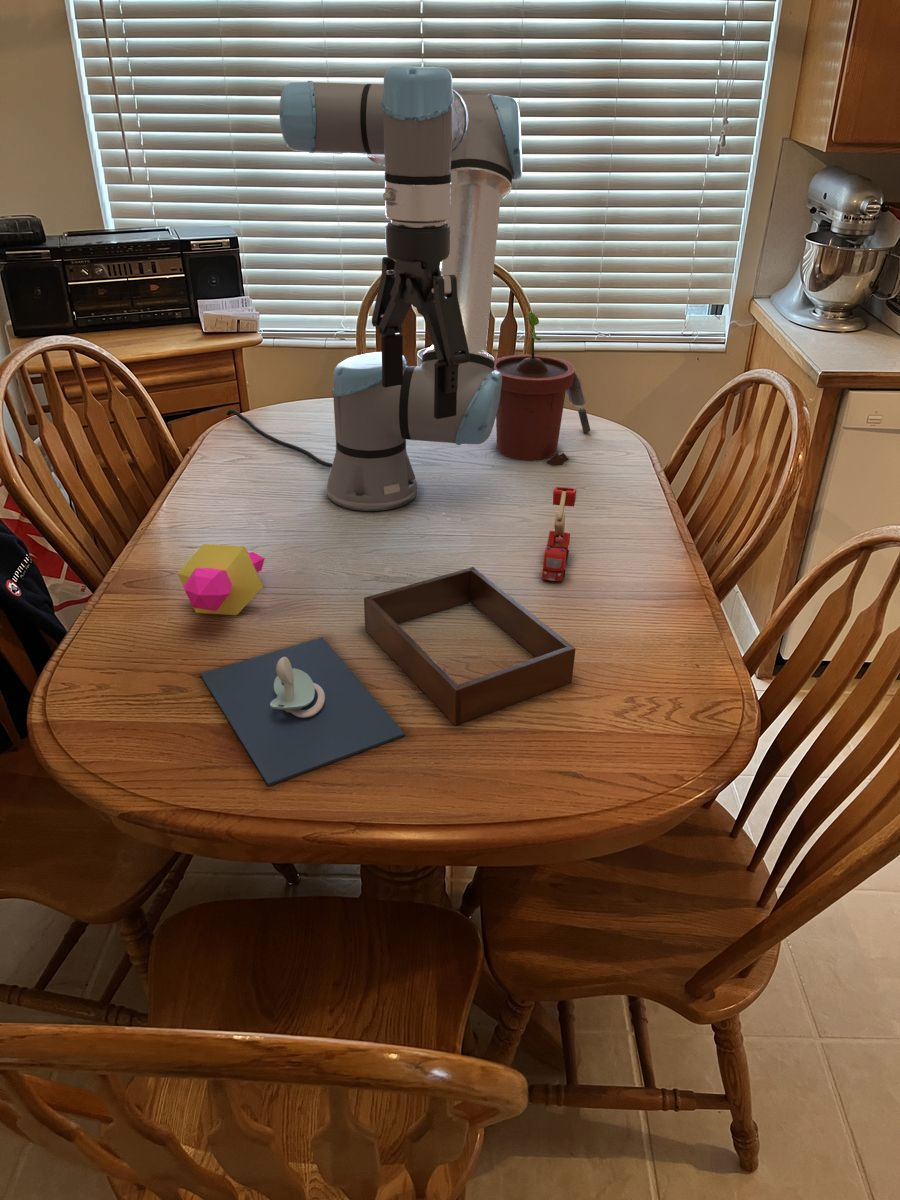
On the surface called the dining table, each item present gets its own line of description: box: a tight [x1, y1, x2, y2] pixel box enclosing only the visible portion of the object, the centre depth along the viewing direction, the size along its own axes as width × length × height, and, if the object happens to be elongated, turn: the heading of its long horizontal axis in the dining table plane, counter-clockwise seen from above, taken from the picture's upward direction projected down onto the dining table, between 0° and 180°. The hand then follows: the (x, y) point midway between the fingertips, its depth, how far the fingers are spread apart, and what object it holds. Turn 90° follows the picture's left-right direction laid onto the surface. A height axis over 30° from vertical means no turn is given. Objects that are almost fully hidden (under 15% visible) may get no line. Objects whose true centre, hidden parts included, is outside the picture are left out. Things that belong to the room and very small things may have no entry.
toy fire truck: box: [541, 486, 577, 582], centre depth 132 cm, size 3×14×10 cm, turn 168°
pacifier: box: [270, 657, 325, 718], centre depth 102 cm, size 7×6×6 cm
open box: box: [363, 566, 576, 726], centre depth 112 cm, size 23×17×5 cm
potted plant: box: [494, 310, 591, 466], centre depth 167 cm, size 18×22×25 cm
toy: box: [177, 543, 265, 616], centre depth 120 cm, size 10×18×10 cm, turn 175°
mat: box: [199, 637, 406, 787], centre depth 104 cm, size 22×16×1 cm
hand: (417, 400), depth 115 cm, fingers open, 13 cm apart
